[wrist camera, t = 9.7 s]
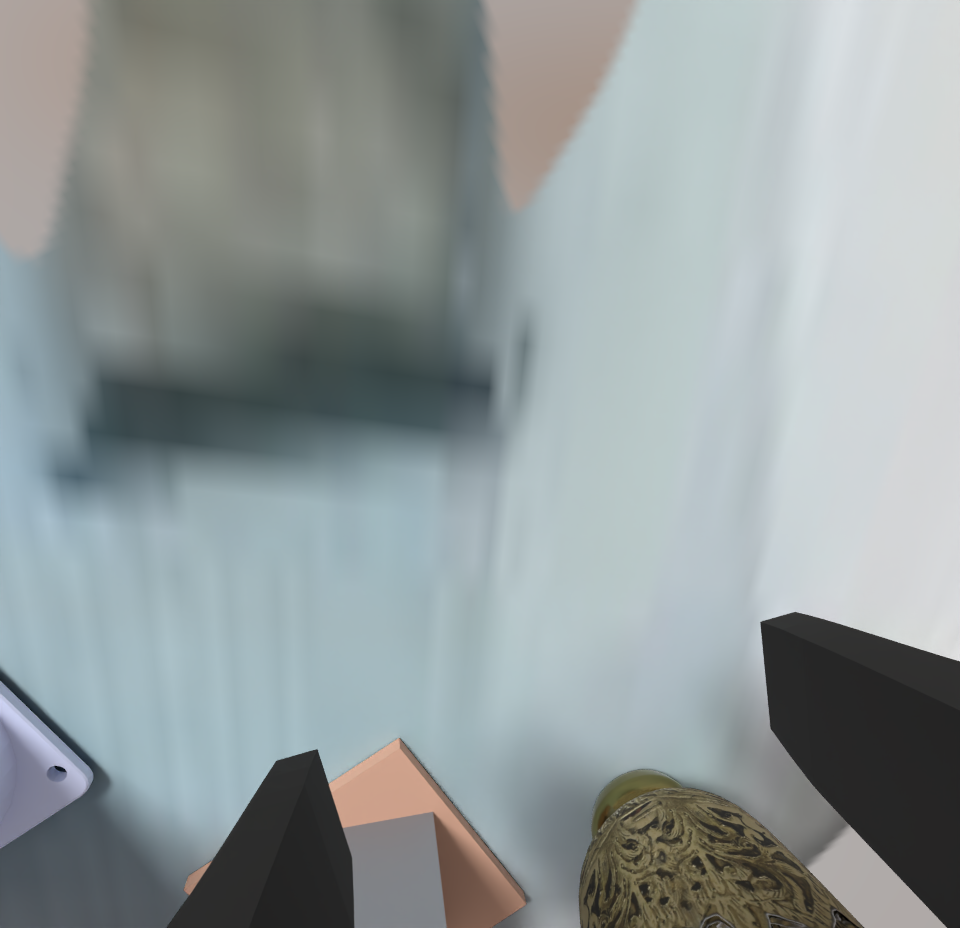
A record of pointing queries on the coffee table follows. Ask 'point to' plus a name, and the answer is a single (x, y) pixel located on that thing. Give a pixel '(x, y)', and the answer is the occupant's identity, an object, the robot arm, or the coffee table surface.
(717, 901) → the cup
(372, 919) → the letter block
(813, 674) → the robot arm
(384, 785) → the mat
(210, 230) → the coffee table surface
